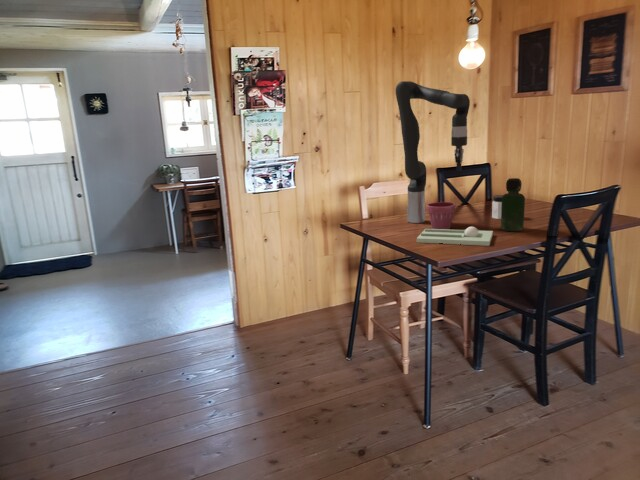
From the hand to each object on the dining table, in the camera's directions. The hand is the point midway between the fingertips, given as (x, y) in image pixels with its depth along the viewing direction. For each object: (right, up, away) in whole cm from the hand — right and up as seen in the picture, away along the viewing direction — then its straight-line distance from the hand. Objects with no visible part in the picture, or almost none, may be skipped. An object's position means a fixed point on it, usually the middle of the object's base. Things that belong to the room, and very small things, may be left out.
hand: (458, 170), depth 238 cm
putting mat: (-6, -34, -16) cm, 38 cm away
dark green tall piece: (+25, -30, -5) cm, 39 cm away
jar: (+30, -23, +22) cm, 43 cm away
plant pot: (-8, -29, +6) cm, 31 cm away
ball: (0, -32, -19) cm, 37 cm away
